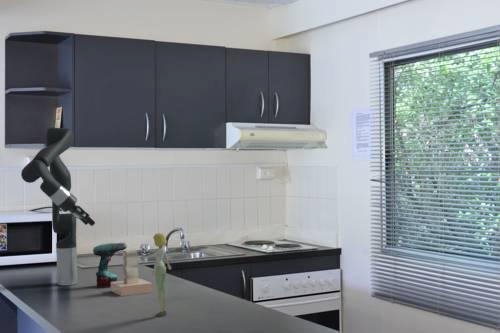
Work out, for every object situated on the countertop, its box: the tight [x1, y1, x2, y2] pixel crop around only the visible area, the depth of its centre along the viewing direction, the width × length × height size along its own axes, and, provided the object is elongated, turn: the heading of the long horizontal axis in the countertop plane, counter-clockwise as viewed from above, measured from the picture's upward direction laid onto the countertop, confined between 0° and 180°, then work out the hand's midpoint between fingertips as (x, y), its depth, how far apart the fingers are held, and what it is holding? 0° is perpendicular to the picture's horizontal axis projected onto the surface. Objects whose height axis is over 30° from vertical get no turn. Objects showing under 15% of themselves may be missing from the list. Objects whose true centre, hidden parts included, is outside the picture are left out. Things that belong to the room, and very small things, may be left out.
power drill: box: [92, 242, 128, 288], centre depth 319 cm, size 7×16×20 cm, turn 78°
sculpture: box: [150, 232, 172, 317], centre depth 256 cm, size 13×5×30 cm, turn 157°
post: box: [122, 248, 139, 284], centre depth 304 cm, size 5×5×14 cm
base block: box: [110, 278, 153, 297], centre depth 304 cm, size 14×14×4 cm
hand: (90, 223), depth 298 cm, fingers open, 8 cm apart
